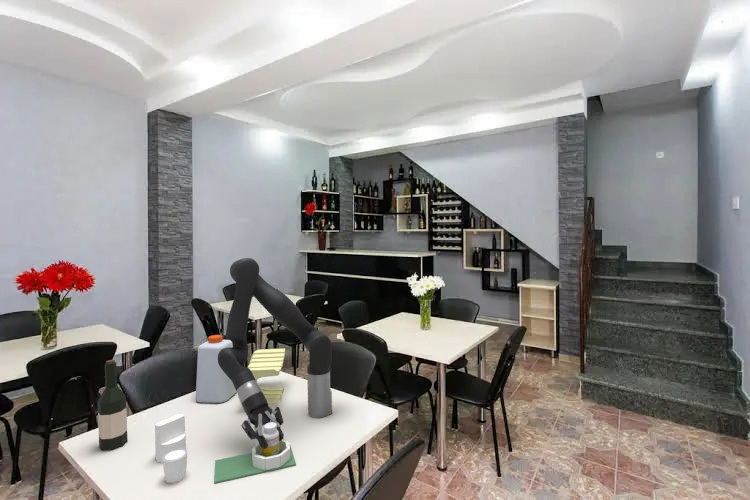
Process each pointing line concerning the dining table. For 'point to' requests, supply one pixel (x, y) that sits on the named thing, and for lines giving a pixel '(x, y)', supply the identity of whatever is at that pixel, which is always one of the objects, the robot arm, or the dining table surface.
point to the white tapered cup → (175, 465)
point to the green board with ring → (253, 463)
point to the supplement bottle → (271, 440)
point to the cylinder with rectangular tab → (170, 435)
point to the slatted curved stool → (268, 370)
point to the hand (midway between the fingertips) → (273, 443)
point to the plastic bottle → (212, 372)
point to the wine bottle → (112, 412)
